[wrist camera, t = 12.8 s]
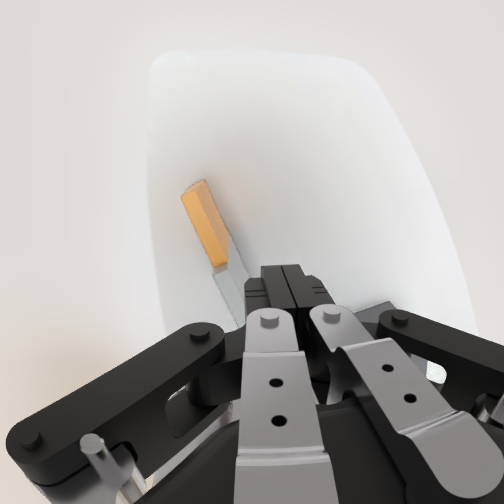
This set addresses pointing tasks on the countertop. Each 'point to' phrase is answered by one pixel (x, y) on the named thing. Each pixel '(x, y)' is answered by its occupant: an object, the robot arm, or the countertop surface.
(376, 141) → the countertop surface
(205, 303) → the countertop surface
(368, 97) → the countertop surface
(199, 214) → the side door
